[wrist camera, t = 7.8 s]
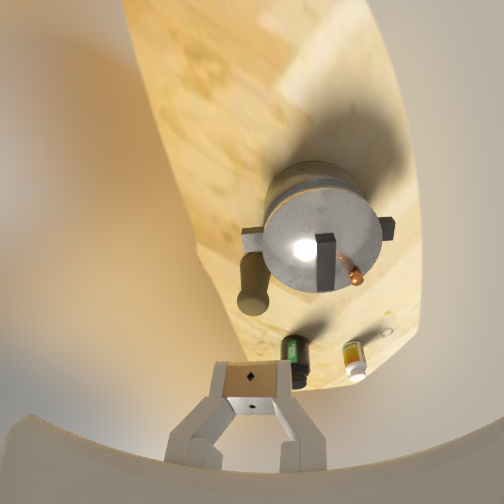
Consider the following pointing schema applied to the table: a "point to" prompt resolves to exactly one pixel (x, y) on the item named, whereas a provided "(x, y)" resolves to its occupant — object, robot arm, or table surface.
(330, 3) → the table surface
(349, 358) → the supplement bottle
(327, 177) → the cooker pot
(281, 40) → the table surface
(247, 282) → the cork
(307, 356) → the supplement bottle
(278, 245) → the cooker lid
